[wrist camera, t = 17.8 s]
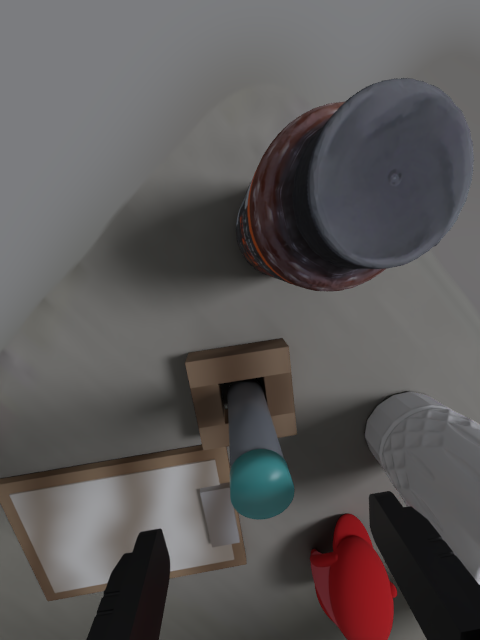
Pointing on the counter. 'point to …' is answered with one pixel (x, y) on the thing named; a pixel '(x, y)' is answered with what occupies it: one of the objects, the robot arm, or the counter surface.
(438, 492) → the white cup
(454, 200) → the supplement bottle
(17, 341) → the counter surface
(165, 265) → the counter surface
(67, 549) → the clipboard
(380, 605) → the cap
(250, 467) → the marker
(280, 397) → the marker stand
